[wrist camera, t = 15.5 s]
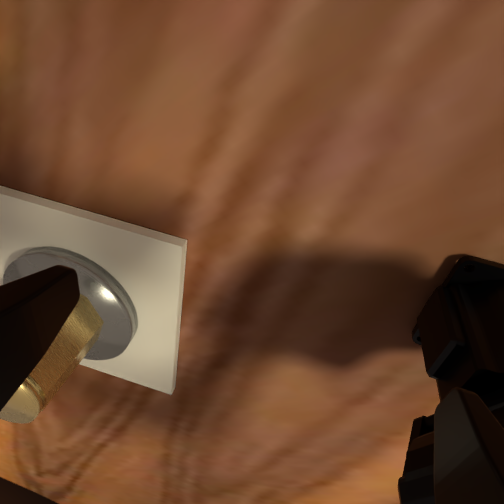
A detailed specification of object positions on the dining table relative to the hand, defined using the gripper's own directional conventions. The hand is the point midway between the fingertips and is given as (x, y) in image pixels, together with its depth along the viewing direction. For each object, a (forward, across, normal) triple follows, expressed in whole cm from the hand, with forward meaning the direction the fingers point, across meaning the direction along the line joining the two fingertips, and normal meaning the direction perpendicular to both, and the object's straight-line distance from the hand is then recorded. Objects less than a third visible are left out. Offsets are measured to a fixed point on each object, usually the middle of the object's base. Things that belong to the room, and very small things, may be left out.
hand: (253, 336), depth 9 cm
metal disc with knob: (+11, +14, +15) cm, 23 cm away
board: (+12, +15, +15) cm, 24 cm away
